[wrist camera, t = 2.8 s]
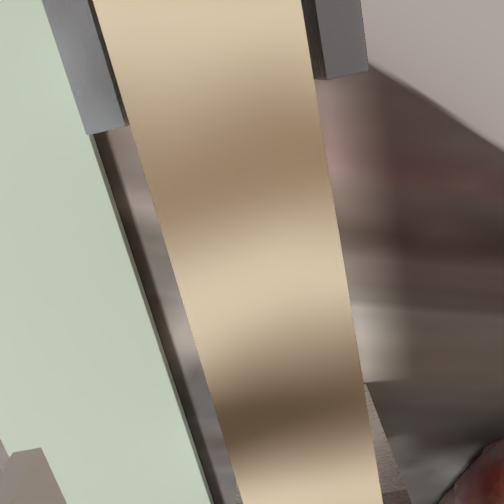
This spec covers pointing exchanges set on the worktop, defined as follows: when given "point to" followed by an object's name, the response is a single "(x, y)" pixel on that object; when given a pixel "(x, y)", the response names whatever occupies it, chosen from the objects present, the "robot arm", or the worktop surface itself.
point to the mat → (76, 300)
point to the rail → (251, 235)
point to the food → (481, 479)
